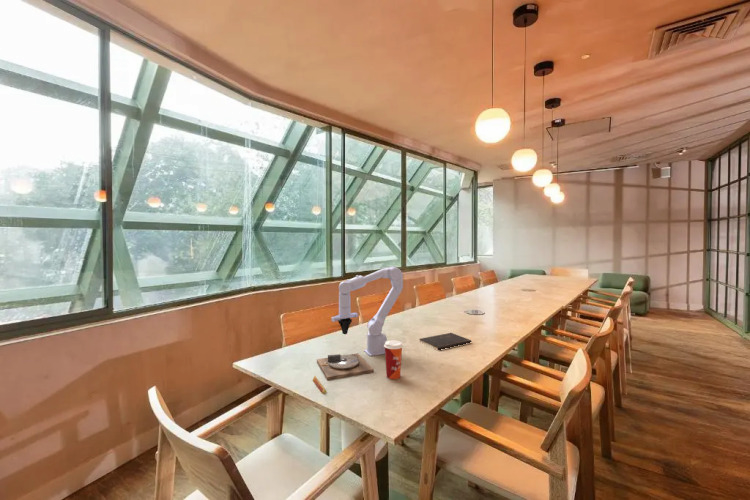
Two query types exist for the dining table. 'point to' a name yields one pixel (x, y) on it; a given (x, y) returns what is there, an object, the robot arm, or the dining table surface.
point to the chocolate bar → (319, 385)
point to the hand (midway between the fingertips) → (344, 333)
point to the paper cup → (393, 358)
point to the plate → (337, 373)
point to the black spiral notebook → (444, 341)
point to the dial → (342, 361)
